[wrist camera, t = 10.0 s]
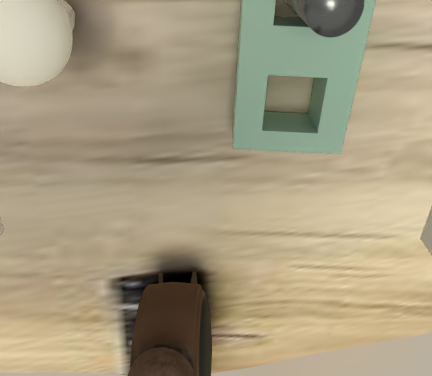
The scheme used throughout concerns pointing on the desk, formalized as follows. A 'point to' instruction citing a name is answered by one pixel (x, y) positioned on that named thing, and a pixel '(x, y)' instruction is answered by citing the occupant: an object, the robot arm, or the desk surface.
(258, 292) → the desk surface
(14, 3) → the light bulb
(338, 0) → the pin
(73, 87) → the desk surface
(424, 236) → the robot arm
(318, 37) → the socket block
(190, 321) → the alarm clock
